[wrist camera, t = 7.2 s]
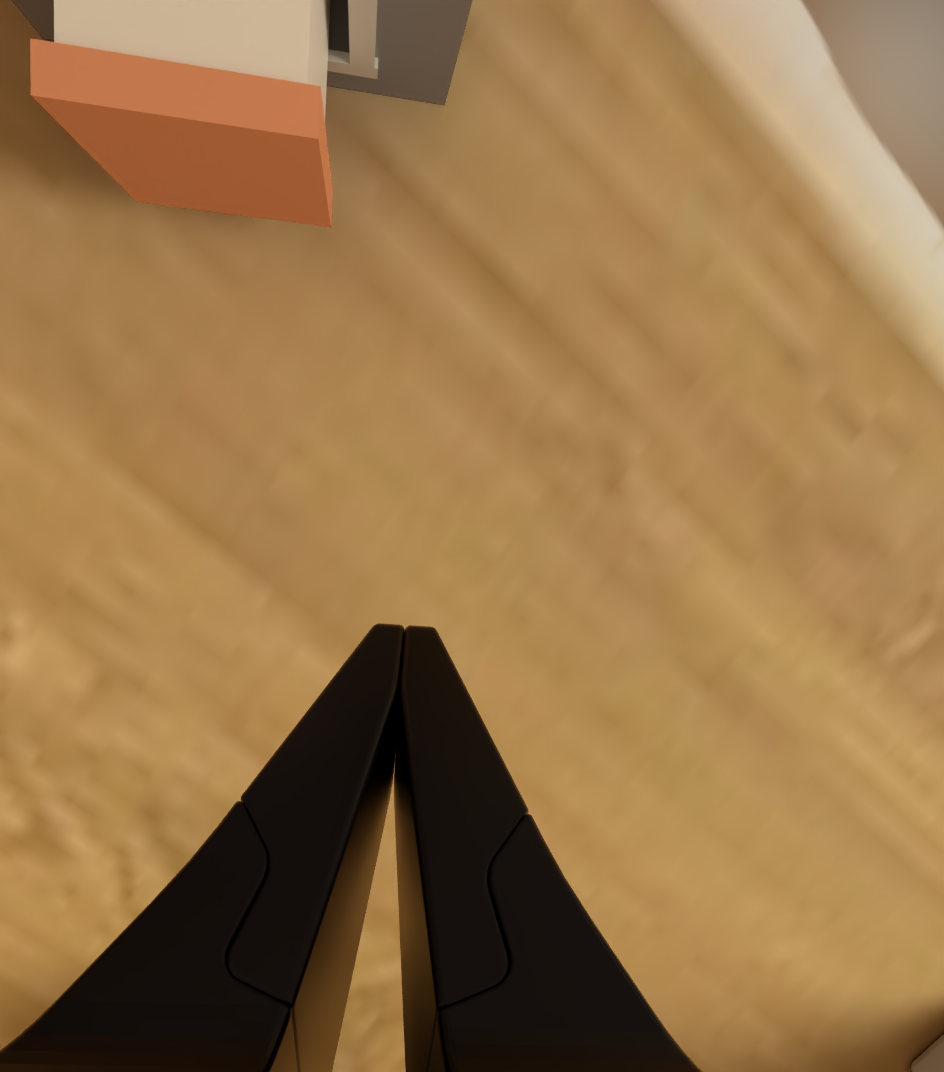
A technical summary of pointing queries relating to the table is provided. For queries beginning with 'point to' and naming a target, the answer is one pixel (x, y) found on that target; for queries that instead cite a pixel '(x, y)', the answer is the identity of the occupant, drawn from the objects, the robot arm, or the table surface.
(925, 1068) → the vintage mobile phone
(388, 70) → the box
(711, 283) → the table surface
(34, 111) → the table surface
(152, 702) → the table surface
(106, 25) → the plunger
